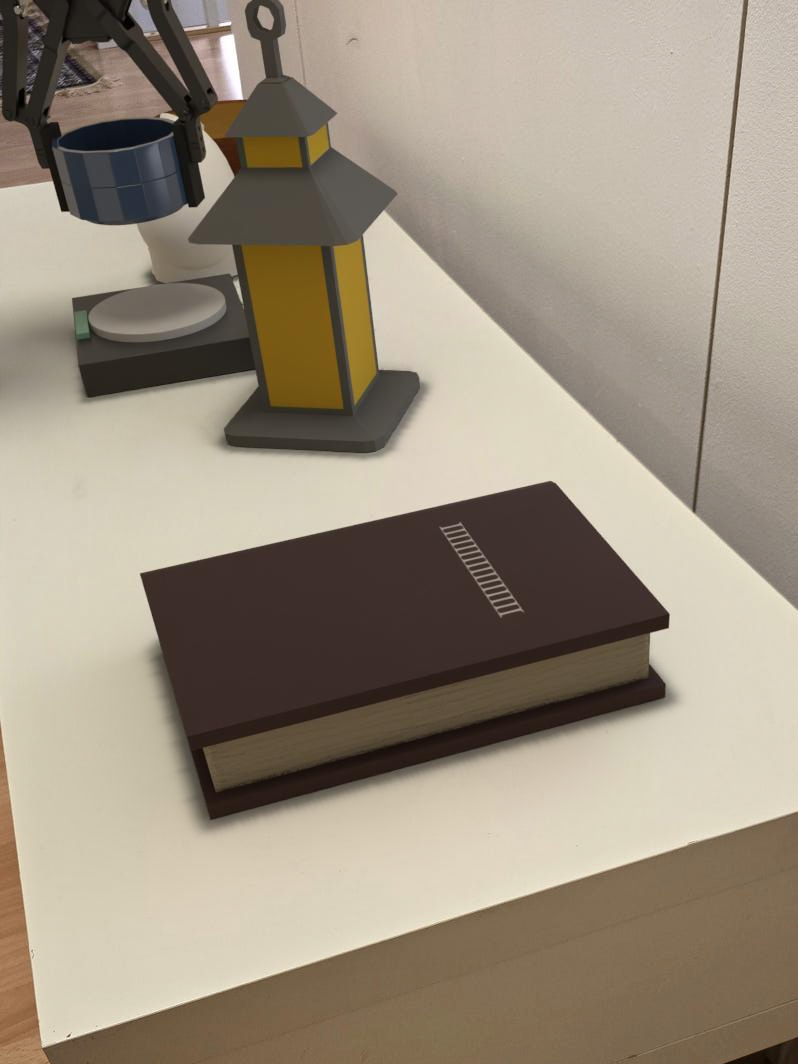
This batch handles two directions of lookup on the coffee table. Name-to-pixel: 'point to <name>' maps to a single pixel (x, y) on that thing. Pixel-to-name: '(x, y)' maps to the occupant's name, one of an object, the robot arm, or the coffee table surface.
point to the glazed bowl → (120, 170)
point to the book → (399, 643)
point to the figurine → (191, 227)
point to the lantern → (303, 271)
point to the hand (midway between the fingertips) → (133, 205)
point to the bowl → (222, 129)
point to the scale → (161, 334)
